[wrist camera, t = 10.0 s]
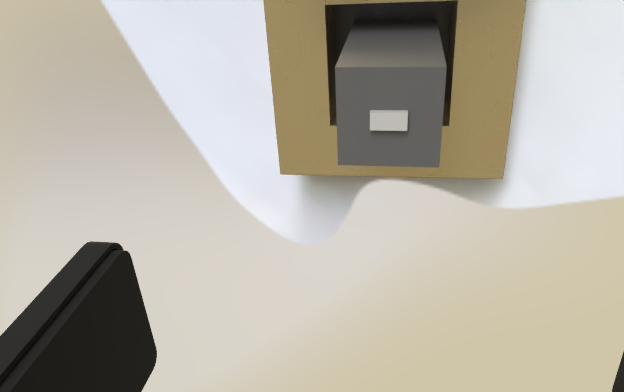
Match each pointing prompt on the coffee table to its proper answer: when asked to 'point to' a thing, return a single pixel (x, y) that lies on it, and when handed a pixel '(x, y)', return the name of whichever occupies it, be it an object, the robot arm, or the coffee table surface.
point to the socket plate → (458, 88)
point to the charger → (390, 94)
